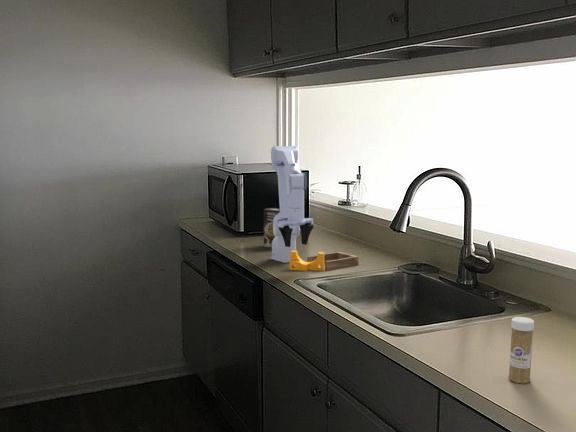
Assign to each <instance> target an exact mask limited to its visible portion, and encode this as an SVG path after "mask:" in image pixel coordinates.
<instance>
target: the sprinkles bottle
mask: <svg viewBox="0 0 576 432" xmlns="http://www.w3.org/2000/svg"><path fill="white" fill-rule="evenodd" d="M510 324H511V325H510V326H511V337H510V338H511V339H510V350H509V369H508V379H509V380H510V381H511V382H513V383H515V384H516V383H517V384H527V383H530V381H531V370H532V369H531V367H532V354H533V334H534V329H535V320H533V319H532V318H530V317H525V316H515V317H512V318H511V323H510Z"/></svg>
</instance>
